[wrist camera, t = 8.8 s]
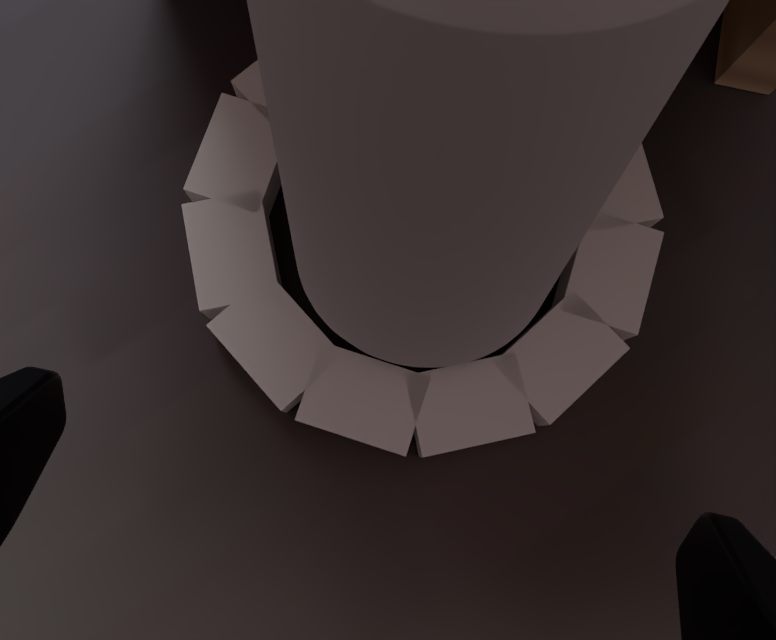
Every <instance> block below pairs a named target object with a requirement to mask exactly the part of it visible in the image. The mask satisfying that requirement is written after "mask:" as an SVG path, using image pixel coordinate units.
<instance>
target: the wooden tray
mask: <svg viewBox="0 0 776 640" xmlns="http://www.w3.org/2000/svg"><path fill="white" fill-rule="evenodd" d="M714 84H719V85H723V86H728V87H733V88H738V89H743V90H747V91H752V92H757V93H762V94H767V95H769V94H770V93H771V92H773V91H774V90H775V89H776V0H729V2H728V3H727V5H726V7H725V8H724V11H723V19H722V27H721V34H720V42H719V49H718V57H717V65H716V72H715V80H714Z"/></svg>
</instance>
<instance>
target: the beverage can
mask: <svg viewBox="0 0 776 640" xmlns="http://www.w3.org/2000/svg"><path fill="white" fill-rule="evenodd" d="M728 2H729V0H247V5H248V10H249V15H250V21H251V26H252V31H253V37H254V42H255V47H256V52H257V58H258V63H259V68H260V74H261V79H262V84H263V90H264V95H265V100H266V105H267V111H268V116H269V121H270V127H271V132H272V137H273V142H274V148H275V153H276V158H277V164H278V169H279V174H280V179H281V185H282V190H283V195H284V201H285V206H286V211H287V216H288V222H289V227H290V232H291V238H292V243H293V248H294V254H295V259H296V264H297V269H298V274H299V277H300V280H301V283H302V286H303V289H304V291H305V293H306V295H307V297H308V299H309V301H310V302H311V304H312V306H313V308H314V309H315V311H316V312H317V313H318V315H319V316H320V317H321V318H322V319H323V321H324V322H325V323H326V324H327V325H328V326H329V327H330V328H331V329H332V330H333V331H334V332H335V333H336V334H338V335H339V336H340V337H342V338H343V339H345V340H346V341H347V342H349V343H350V344H352V345H353V346H355V347H356V348H358V349H360V350H361V351H363V352H365V353H367V354H369V355H371V356H374V357H376V358H379V359H382V360H385V361H388V362H391V363H395V364H399V365H405V366H411V367H425V368H433V367H447V366H454V365H460V364H464V363H467V362H470V361H473V360H476V359H479V358H482V357H484V356H486V355H488V354H490V353H492V352H494V351H496V350H498V349H499V348H501V347H503V346H504V345H506V344H507V343H509V342H510V341H511V340H512V339H513V338H515V337H516V336H517V335H518V334H519V333H520V332H521V331H522V330H523V329H524V328H525V327H526V326H527V325H528V324H529V322H530V321H531V320H532V319H533V317H534V316H535V315H536V313H537V312H538V310H539V308H540V307H541V305H542V304H543V302H544V300H545V299H546V297H547V295H548V294H549V292H550V291H551V289H552V287H553V286H554V284H555V282H556V281H557V279H558V278H559V276H560V274H561V273H562V271H563V270H564V268H565V266H566V265H567V263H568V261H569V260H570V258H571V257H572V255H573V253H574V252H575V250H576V248H577V247H578V245H579V244H580V242H581V240H582V239H583V237H584V235H585V234H586V232H587V231H588V229H589V227H590V226H591V224H592V222H593V221H594V219H595V218H596V216H597V214H598V213H599V211H600V209H601V208H602V206H603V205H604V203H605V201H606V200H607V198H608V196H609V195H610V193H611V192H612V190H613V188H614V187H615V185H616V184H617V182H618V180H619V179H620V177H621V175H622V174H623V172H624V171H625V169H626V167H627V166H628V164H629V162H630V161H631V159H632V158H633V156H634V154H635V153H636V151H637V149H638V148H639V146H640V145H641V143H642V141H643V140H644V138H645V136H646V135H647V133H648V132H649V130H650V128H651V127H652V125H653V123H654V122H655V120H656V119H657V117H658V115H659V114H660V112H661V110H662V109H663V107H664V106H665V104H666V102H667V101H668V99H669V98H670V96H671V94H672V93H673V91H674V89H675V88H676V86H677V85H678V83H679V81H680V80H681V78H682V76H683V75H684V73H685V72H686V70H687V68H688V67H689V65H690V63H691V62H692V60H693V59H694V57H695V55H696V54H697V52H698V50H699V49H700V47H701V46H702V44H703V42H704V41H705V39H706V37H707V36H708V34H709V33H710V31H711V29H712V28H713V26H714V24H715V23H716V21H717V20H718V18H719V16H720V15H721V13H722V12H723V10H724V8H725V7H726V5H727V3H728Z"/></svg>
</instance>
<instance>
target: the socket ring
mask: <svg viewBox="0 0 776 640" xmlns="http://www.w3.org/2000/svg"><path fill="white" fill-rule="evenodd" d="M231 83H232V86H233V88H234V91H235V94H236V96H237V97H234V96H231V95H228V94H224V93H221V96H220V98H219V101H218V103H217V106H216V108H215V111H214V113H213V116H212V118H211V121H210V123H209V126H208V128H207V131H206V133H205V136H204V138H203V140H202V143H201V145H200V148H199V150H198V153H197V155H196V158H195V160H194V163H193V165H192V168H191V170H190V173H189V175H188V178H187V180H186V183H185V185H184V188H183V190H184V191H185V193H186V194H187V195H188V197H189V198H190V199H191V201H192V202H190V203H185V204H181V206H182V212H183V218H184V224H185V229H186V235H187V241H188V247H189V253H190V259H191V265H192V271H193V277H194V283H195V289H196V295H197V301H198V306H199V311H200V312H201V313H203V314H204V315H205V316H207V317H208V318H209V319H213V320H212V321H210V322H209V323H208V324H207V325H206V326H207V327H208V328H209V329H210V330H211V331H212V333H213V334H214V335H215V336H216V337H217V338H218V340H219V341H220V342H221V343H222V344H223V345H224V346H225V348H226V349H227V350H228V351H229V352H230V353H231V354H232V356H233V357H234V358H235V359H236V360H237V361H238V363H239V364H240V365H241V366H242V367H243V368H244V369H245V371H246V372H247V373H248V374H249V375H250V376H251V377H252V379H253V380H254V381H255V382H256V383H257V384H258V385H259V387H260V388H261V389H262V390H263V391H264V392H265V394H266V395H267V396H268V397H269V398H270V399H271V400H272V402H273V403H274V404H275V405H276V406H277V407H278V408H279V410H280V411H282V412H285V413H287V412H288V411H290V410H291V409H292V408H293V407H294V406H295V405H296V404H297V403H299V402H300V401H301V403H300V406H299V409H298V412H297V415H296V418H295V420H296V421H299V422H302V423H305V424H308V425H311V426H314V427H317V428H320V429H323V430H326V431H329V432H332V433H335V434H338V435H341V436H344V437H347V438H350V439H353V440H356V441H359V442H363V443H366V444H369V445H372V446H375V447H378V448H381V449H384V450H387V451H390V452H393V453H396V454H399V455H402V456H405V457H406V455H407V452H408V449H409V445H410V442H411V439H412V436H413V432H414V436H415V440H416V445H417V450H418V454H419V457H422V458H423V457H428V456H432V455H437V454H441V453H446V452H450V451H455V450H460V449H464V448H469V447H473V446H478V445H482V444H487V443H491V442H496V441H500V440H505V439H509V438H514V437H519V436H523V435H528V434H532V433H536V431H535V427H534V423H533V421H534V422H535V424H536V425H537V426H544V425H551V424H552V423H553V422H554V421H555V420H556V419H557V418H558V417H559V416H560V415H561V414H562V413H563V412H564V411H565V410H566V409H567V408H568V407H570V406H571V405H572V404H573V403H574V402H575V401H576V400H577V399H578V398H579V397H580V396H581V395H582V394H583V393H584V392H585V391H586V390H587V389H588V388H589V387H590V386H591V385H592V384H594V383H595V382H596V381H597V380H598V379H599V378H600V377H601V376H602V375H603V374H604V373H605V372H606V371H607V370H608V369H609V368H610V367H611V366H612V365H613V364H614V363H615V362H616V361H618V360H619V359H620V358H621V357H622V356H623V355H624V354H625V353H626V352H627V351H628V350H629V349H630V348H629V347H628V345H627V344H626V343H625V342H624V340H626V339H629V338H631V337H634V336H637V335H638V333H639V329H640V325H641V321H642V317H643V314H644V310H645V306H646V302H647V298H648V294H649V290H650V286H651V282H652V278H653V275H654V271H655V267H656V263H657V259H658V255H659V251H660V247H661V243H662V239H663V235H664V232H662V231H659V230H656V229H652V228H650V227H652V226H653V225H654V224H656V223H657V222H658V221H660V220H661V219H662V218H664V216H663V212H662V209H661V206H660V202H659V199H658V196H657V192H656V189H655V185H654V182H653V179H652V175H651V172H650V169H649V165H648V162H647V159H646V155H645V152H644V148H643V145H642V143H641V145H640V146H639V148H638V149H637V151H636V153H635V154H634V156H633V158H632V159H631V161H630V162H629V164H628V166H627V167H626V169H625V171H624V172H623V174H622V175H621V177H620V179H619V180H618V182H617V184H616V185H615V187H614V188H613V190H612V192H611V193H610V195H609V196H608V198H607V200H606V201H605V203H604V205H603V206H602V208H601V209H600V211H599V213H598V214H597V216H596V218H595V219H594V221H593V222H592V224H591V226H590V227H589V229H588V231H587V232H586V234H585V235H584V237H583V239H582V240H581V242H580V244H579V245H578V247H577V248H576V250H575V252H574V253H573V255H572V257H571V258H570V260H569V261H568V263H567V265H566V266H565V268H564V270H563V271H562V273H561V275H560V279H559V282H558V286H557V289H556V293H555V296H554V300H553V304H552V307H551V308H550V309H549V310H548V311H547V312H546V313H545V314H544V315H543V316H542V317H540V318H539V319H538V320H537V321H536V322H535V323H534V324H533V325H532V326H531V327H530V328H529V329H527V330H526V331H525V332H524V333H523V334H522V335H521V336H520V337H519V338H518V339H517V340H516V341H515V342H513V343H512V344H511V345H510V346H509V347H508V348H507V349H506V350H505V351H504V352H503V353H502V354H500V355H499V356H495V357H490V358H486V359H481V360H476V361H471V362H467V363H464V364H460V365H454V366H448V367H443V368H438V369H434V370H429V371H424V372H420V373H417V372H414V371H411V370H408V369H405V368H402V367H398V366H395V365H392V364H389V363H386V362H383V361H380V360H377V359H374V358H371V357H368V356H365V355H361V354H358V353H355V352H352V351H349V350H346V349H343V348H340V347H337V346H334V345H333V344H332V342H331V341H330V340H329V339H328V338H327V337H326V336H325V335H324V333H323V332H322V331H321V330H320V329H319V328H318V327H317V326H316V325H315V323H314V322H313V321H312V320H311V319H310V318H309V317H308V316H307V315H306V313H305V312H304V311H303V310H302V309H301V308H300V307H299V306H298V304H297V303H296V302H295V301H294V300H293V299H292V298H291V297H290V296H289V294H288V293H287V292H286V291H285V290H284V289H283V288H282V283H281V277H280V272H279V267H278V262H277V257H276V251H275V246H274V241H273V236H272V231H271V225H270V220H269V215H270V213H271V210H272V207H273V205H274V202H275V199H276V197H277V194H278V191H279V189H280V186H281V179H280V174H279V169H278V164H277V158H276V153H275V148H274V142H273V137H272V132H271V127H270V121H269V116H268V111H267V105H266V100H265V95H264V90H263V84H262V79H261V74H260V68H259V63H258V60H257V61H255V62H254V63H253V64H252V65H250V66H249V67H248V68H246V69H245V70H244V71H243V72H241V73H240V74H239V75H238V76H236V77H235V78H234V79H232V80H231Z"/></svg>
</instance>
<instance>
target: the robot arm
mask: <svg viewBox="0 0 776 640" xmlns="http://www.w3.org/2000/svg"><path fill="white" fill-rule="evenodd" d="M65 423H66V410H65V402H64V394H63V387H62V380H61V377H60V376H59V374H58V373H56V372H54V371H50V370H45V369H41V368H36V367H25V368H23V369H20V370H18V371H15V372H13V373H11V374H9V375H6V376H4V377H2V378H0V546H1V545H2V543H3V542H4V540H5V538H6V537H7V535H8V534H9V532H10V531H11V529H12V527H13V526H14V524H15V522H16V520H17V518H18V517H19V515H20V513H21V511H22V509H23V507H24V505H25V504H26V502H27V500H28V498H29V496H30V494H31V492H32V490H33V488H34V486H35V484H36V483H37V481H38V479H39V477H40V475H41V473H42V471H43V469H44V467H45V465H46V463H47V462H48V460H49V458H50V456H51V454H52V452H53V450H54V448H55V446H56V444H57V442H58V441H59V439H60V437H61V435H62V433H63V430H64V427H65ZM676 577H677V589H678V601H679V613H680V625H681V637H682V640H776V559H775V558H774V557H773V556H772V555H771V554H770V553H769V552H768V551H767V550H766V549H765V548H764V547H763V546H762V544H761V543H760V542H759V541H758V540H757V539H756V538H755V537H754V536H753V535H752V534H751V533H750V532H749V531H748V530H747V529H746V528H745V527H744V526H743V524H742V523H740V522H739V521H738V520H737V519H735V518H733V517H730V516H725V515H720V514H716V513H711V512H706V513H704V514H702V515H700V517H699V518H698V519H697V521H696V522H695V524H694V525H693V527H692V528H691V530H690V532H689V533H688V535H687V536H686V538H685V539H684V541H683V542H682V544H681V545H680V547H679V549H678V552H677V555H676Z"/></svg>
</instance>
